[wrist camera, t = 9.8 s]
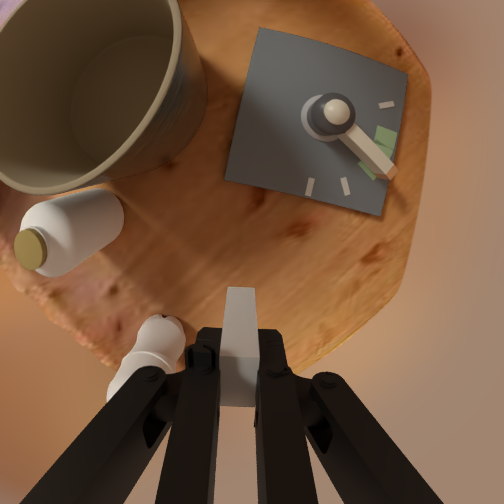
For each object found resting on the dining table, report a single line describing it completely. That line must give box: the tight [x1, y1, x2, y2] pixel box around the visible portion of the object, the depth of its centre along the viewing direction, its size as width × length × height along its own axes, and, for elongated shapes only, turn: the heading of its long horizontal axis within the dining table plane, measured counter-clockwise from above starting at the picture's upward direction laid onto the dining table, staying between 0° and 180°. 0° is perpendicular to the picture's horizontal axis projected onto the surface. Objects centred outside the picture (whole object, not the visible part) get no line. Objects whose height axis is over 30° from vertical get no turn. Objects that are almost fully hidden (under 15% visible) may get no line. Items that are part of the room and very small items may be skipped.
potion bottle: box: [14, 188, 124, 278], centre depth 32 cm, size 8×8×18 cm
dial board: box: [224, 27, 408, 217], centre depth 37 cm, size 22×22×1 cm
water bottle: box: [107, 314, 186, 402], centre depth 34 cm, size 7×7×25 cm
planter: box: [0, 0, 208, 196], centre depth 27 cm, size 22×22×20 cm
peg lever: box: [307, 92, 399, 180], centre depth 35 cm, size 13×5×6 cm, turn 50°
